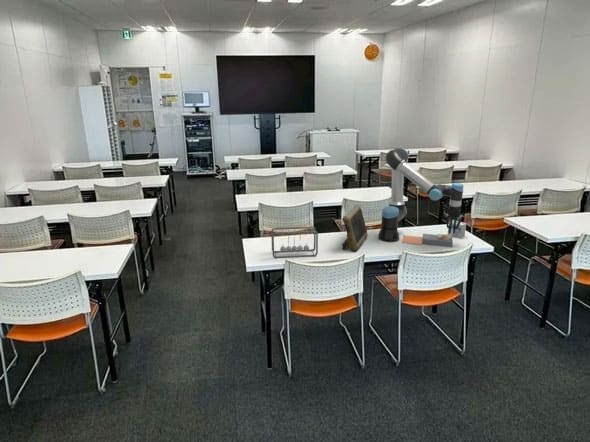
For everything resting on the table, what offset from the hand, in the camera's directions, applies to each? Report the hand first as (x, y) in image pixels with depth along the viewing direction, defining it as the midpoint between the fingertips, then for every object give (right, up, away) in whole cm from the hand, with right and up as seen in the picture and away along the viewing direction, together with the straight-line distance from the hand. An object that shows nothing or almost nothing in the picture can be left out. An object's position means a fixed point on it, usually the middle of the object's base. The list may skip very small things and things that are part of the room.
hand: (451, 237), depth 283 cm
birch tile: (-5, 0, +2) cm, 5 cm away
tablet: (-68, -5, +4) cm, 68 cm away
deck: (-9, -4, +4) cm, 10 cm away
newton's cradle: (-111, -11, -14) cm, 113 cm away
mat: (-25, -2, +9) cm, 26 cm away
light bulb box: (+10, 0, +17) cm, 20 cm away
